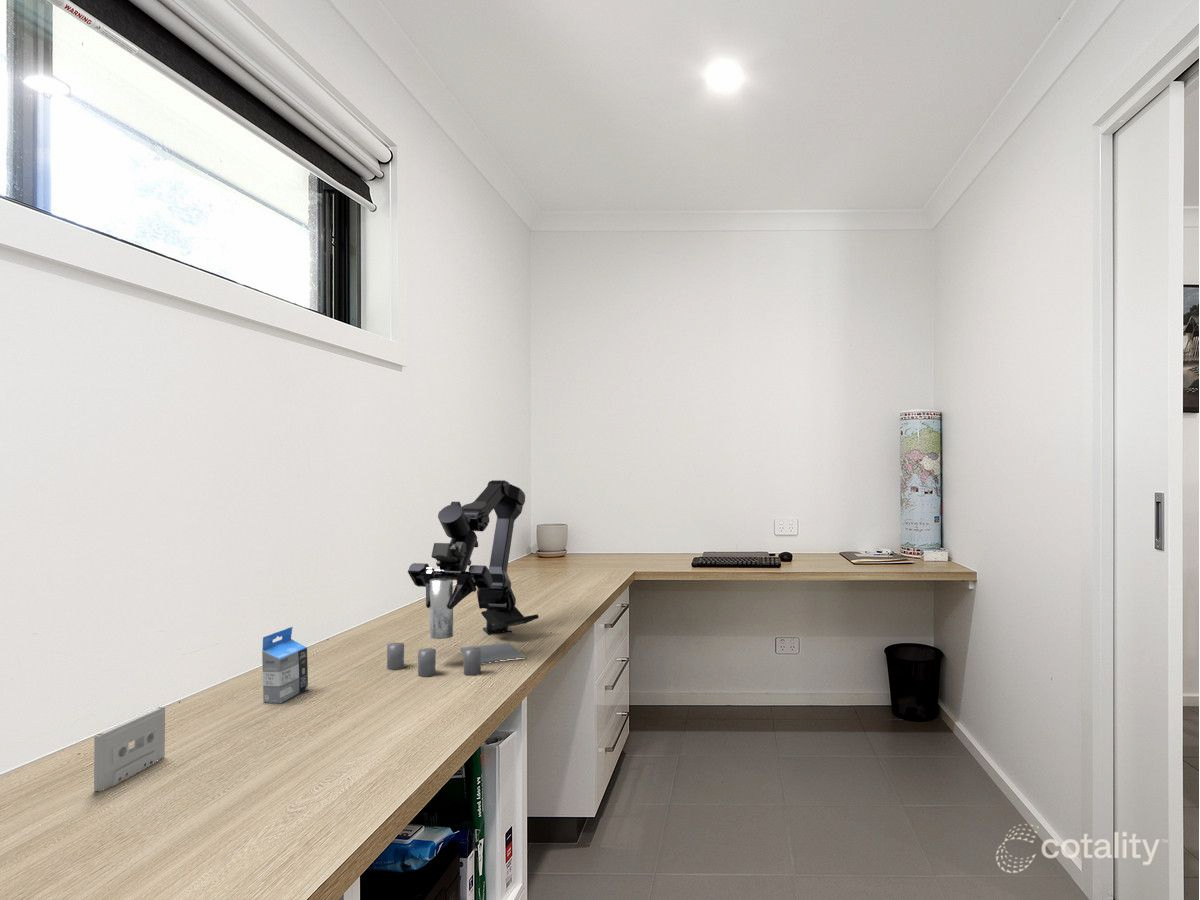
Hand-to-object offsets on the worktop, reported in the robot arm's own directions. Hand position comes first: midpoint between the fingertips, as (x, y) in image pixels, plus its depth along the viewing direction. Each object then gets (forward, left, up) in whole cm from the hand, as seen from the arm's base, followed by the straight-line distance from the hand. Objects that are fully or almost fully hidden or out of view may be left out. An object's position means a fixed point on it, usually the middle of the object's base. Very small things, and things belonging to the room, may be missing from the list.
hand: (438, 607), depth 158 cm
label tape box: (+8, -31, -13) cm, 34 cm away
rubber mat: (-6, +13, -13) cm, 19 cm away
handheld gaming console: (-19, +22, -10) cm, 31 cm away
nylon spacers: (+3, -2, -13) cm, 14 cm away
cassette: (+37, -51, -13) cm, 64 cm away
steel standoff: (-1, +1, -7) cm, 7 cm away
